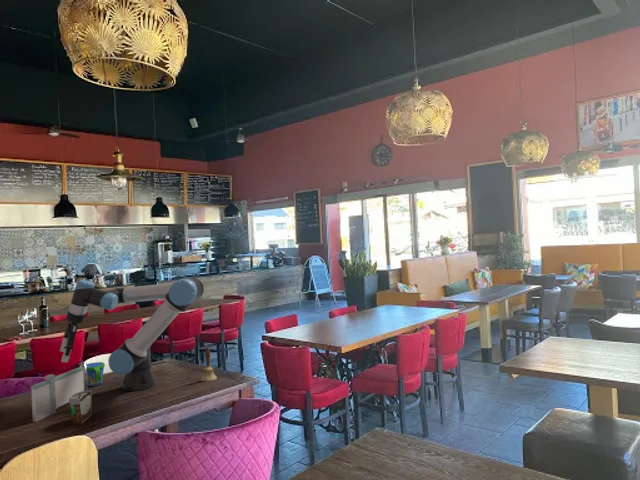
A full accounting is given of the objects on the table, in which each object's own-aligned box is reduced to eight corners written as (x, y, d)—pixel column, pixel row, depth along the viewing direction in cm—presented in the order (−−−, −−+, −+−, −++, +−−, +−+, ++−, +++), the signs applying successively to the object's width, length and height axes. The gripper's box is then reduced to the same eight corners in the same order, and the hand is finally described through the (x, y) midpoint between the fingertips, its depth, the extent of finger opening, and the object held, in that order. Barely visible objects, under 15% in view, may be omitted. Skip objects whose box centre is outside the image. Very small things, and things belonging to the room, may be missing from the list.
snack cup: (108, 385, 237) (107, 365, 238) (85, 390, 231) (84, 369, 231) (102, 379, 250) (101, 360, 250) (80, 383, 244) (79, 364, 244)
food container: (77, 415, 196) (76, 390, 196) (92, 413, 196) (91, 389, 196) (63, 426, 183) (62, 400, 183) (80, 424, 184) (79, 399, 184)
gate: (84, 394, 219) (83, 367, 219) (56, 408, 201) (54, 378, 201) (80, 394, 219) (79, 367, 219) (52, 408, 201) (50, 378, 201)
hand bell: (220, 377, 241) (218, 346, 241) (208, 382, 234) (206, 350, 234) (208, 376, 245) (207, 345, 245) (196, 380, 238) (195, 348, 238)
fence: (89, 396, 221) (87, 361, 222) (37, 421, 190) (35, 381, 190) (84, 396, 222) (82, 361, 222) (31, 421, 190) (30, 381, 191)
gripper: (66, 304, 229) (53, 346, 229) (69, 319, 208) (55, 365, 208) (83, 306, 233) (70, 348, 233) (87, 322, 212) (74, 367, 212)
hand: (63, 356), depth 221 cm, fingers open, 13 cm apart
